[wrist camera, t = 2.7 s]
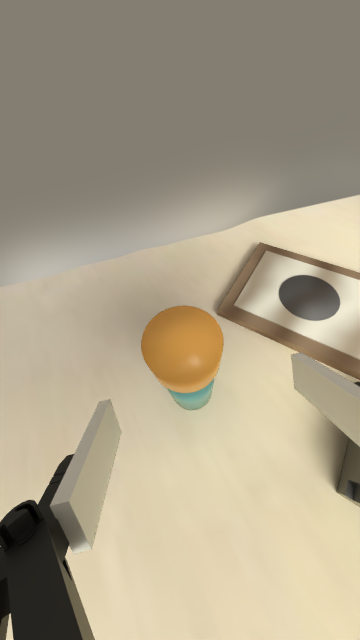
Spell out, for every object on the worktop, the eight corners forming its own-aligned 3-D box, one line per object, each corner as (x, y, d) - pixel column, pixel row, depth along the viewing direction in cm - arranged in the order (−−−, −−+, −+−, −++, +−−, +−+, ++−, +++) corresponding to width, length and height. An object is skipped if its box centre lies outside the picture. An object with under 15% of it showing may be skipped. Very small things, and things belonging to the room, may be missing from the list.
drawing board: (217, 314, 28) (217, 308, 27) (258, 248, 33) (260, 240, 32) (373, 385, 22) (383, 382, 21) (392, 291, 27) (402, 283, 26)
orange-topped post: (162, 396, 23) (124, 354, 12) (184, 360, 25) (170, 295, 14) (199, 421, 22) (196, 399, 11) (221, 381, 24) (237, 326, 12)
